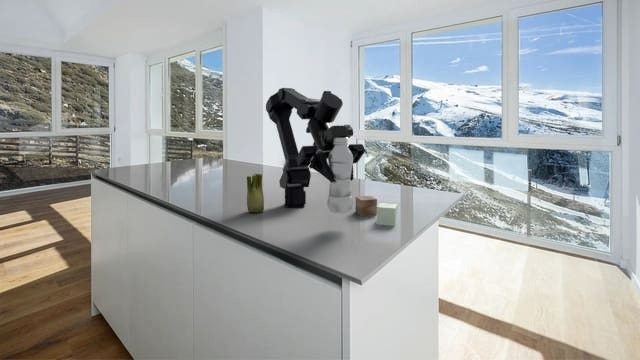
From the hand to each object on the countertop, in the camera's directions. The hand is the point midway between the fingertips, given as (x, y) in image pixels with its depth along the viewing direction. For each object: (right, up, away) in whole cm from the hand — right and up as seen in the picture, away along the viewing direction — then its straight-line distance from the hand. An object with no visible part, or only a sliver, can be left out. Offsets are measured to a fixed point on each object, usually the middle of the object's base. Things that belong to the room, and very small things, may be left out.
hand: (342, 180), depth 94 cm
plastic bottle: (-1, -9, +3) cm, 9 cm away
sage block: (+13, -12, +9) cm, 20 cm away
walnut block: (+8, -10, +19) cm, 23 cm away
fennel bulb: (-26, -10, +20) cm, 34 cm away
